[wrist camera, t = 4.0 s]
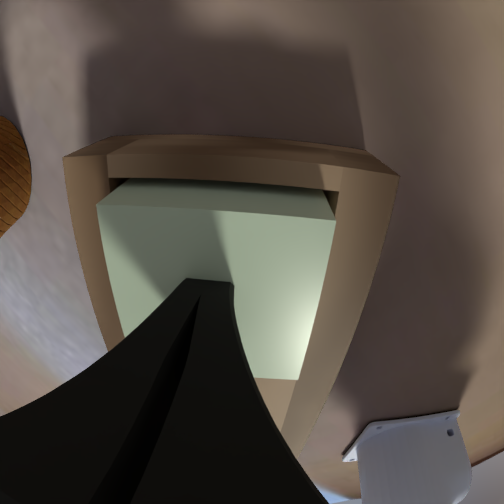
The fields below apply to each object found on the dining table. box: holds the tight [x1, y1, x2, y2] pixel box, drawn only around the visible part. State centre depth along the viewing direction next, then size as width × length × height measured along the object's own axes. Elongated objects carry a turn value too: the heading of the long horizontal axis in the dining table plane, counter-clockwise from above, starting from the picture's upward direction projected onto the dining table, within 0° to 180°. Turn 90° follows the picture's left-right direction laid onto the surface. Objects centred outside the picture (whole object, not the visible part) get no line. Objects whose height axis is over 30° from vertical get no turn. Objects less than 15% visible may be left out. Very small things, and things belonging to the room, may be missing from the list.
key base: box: [63, 134, 400, 459], centre depth 16 cm, size 10×27×4 cm, turn 176°
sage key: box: [96, 178, 336, 380], centre depth 10 cm, size 6×6×3 cm
